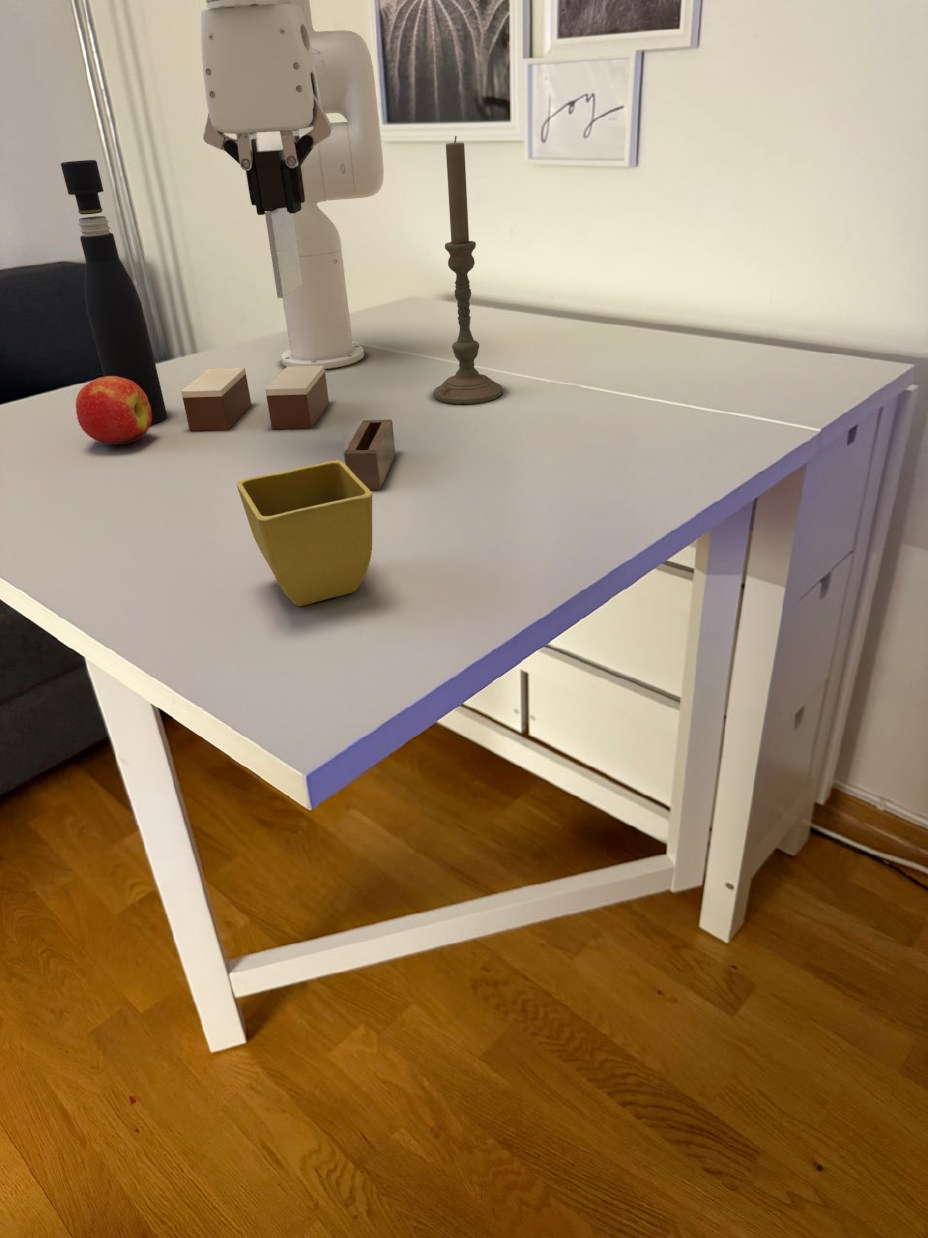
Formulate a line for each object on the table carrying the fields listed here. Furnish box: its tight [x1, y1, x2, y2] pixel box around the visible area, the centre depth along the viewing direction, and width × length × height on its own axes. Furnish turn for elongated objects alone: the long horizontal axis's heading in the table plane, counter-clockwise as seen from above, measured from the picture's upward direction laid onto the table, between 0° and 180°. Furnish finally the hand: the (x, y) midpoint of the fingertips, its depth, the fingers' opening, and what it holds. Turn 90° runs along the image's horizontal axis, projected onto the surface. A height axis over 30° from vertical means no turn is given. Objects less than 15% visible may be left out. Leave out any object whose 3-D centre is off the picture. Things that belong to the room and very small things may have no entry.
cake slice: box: [264, 366, 330, 430], centre depth 113 cm, size 10×5×5 cm, turn 175°
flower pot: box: [235, 459, 373, 607], centre depth 71 cm, size 9×9×9 cm
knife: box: [254, 149, 302, 299], centre depth 90 cm, size 8×2×13 cm, turn 175°
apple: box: [75, 376, 152, 446], centre depth 107 cm, size 8×8×8 cm
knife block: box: [343, 419, 396, 491], centre depth 95 cm, size 10×3×4 cm, turn 175°
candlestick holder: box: [433, 135, 504, 405], centre depth 111 cm, size 9×9×30 cm
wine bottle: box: [60, 159, 168, 426], centre depth 109 cm, size 6×6×30 cm
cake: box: [180, 367, 252, 432], centre depth 114 cm, size 10×5×5 cm, turn 175°
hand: (279, 210), depth 90 cm, fingers closed on knife, 2 cm apart
